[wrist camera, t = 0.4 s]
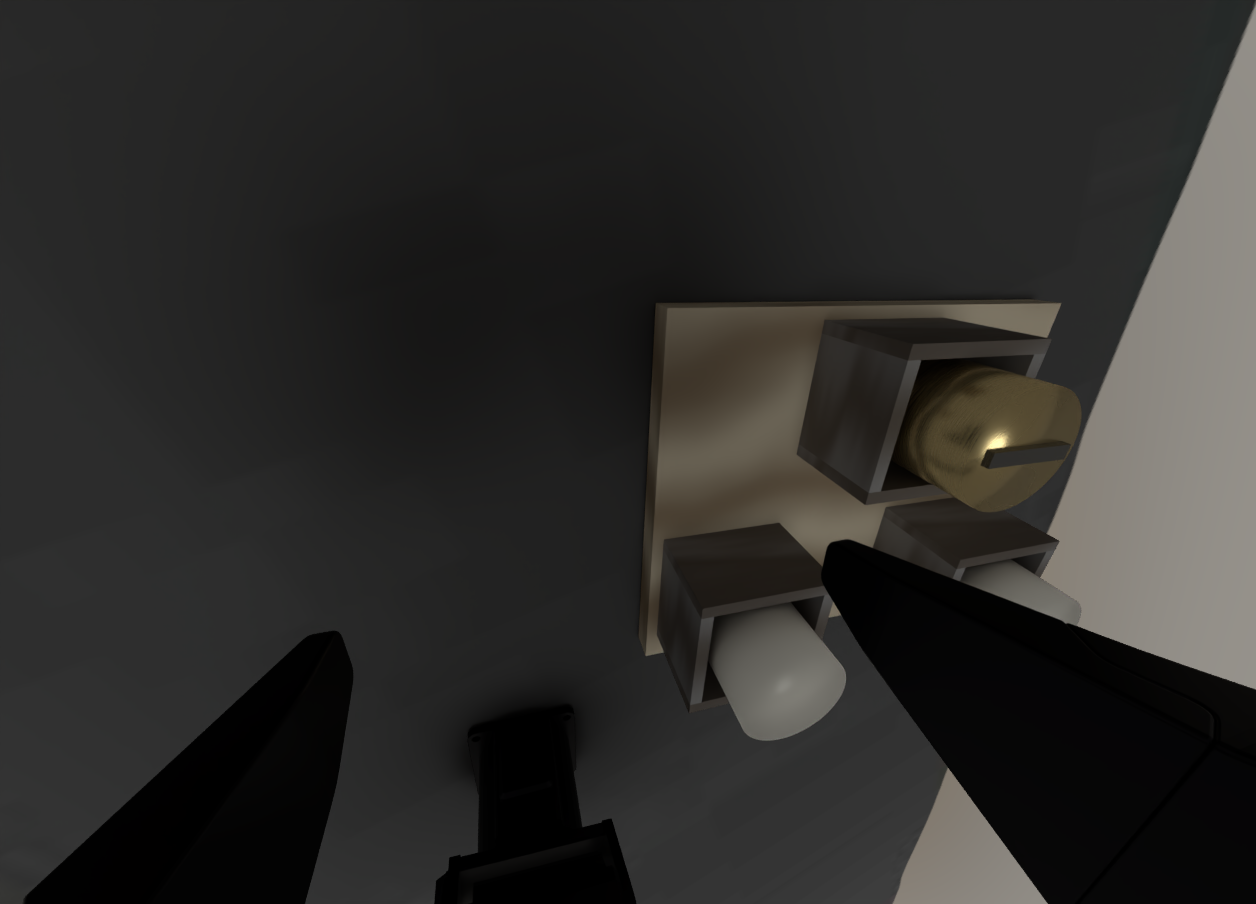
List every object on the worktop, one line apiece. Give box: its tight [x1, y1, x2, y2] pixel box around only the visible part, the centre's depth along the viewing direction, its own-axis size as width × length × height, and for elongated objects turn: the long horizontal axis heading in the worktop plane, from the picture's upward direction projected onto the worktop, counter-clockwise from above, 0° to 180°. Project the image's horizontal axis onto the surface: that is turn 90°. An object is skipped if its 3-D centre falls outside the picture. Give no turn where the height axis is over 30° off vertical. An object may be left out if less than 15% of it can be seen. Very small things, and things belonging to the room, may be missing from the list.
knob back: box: [960, 559, 1081, 626], centre depth 25 cm, size 5×5×5 cm
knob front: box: [708, 602, 846, 741], centre depth 22 cm, size 5×5×5 cm
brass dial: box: [891, 358, 1081, 512], centre depth 18 cm, size 5×5×5 cm
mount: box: [639, 299, 1061, 713], centre depth 24 cm, size 20×22×6 cm
